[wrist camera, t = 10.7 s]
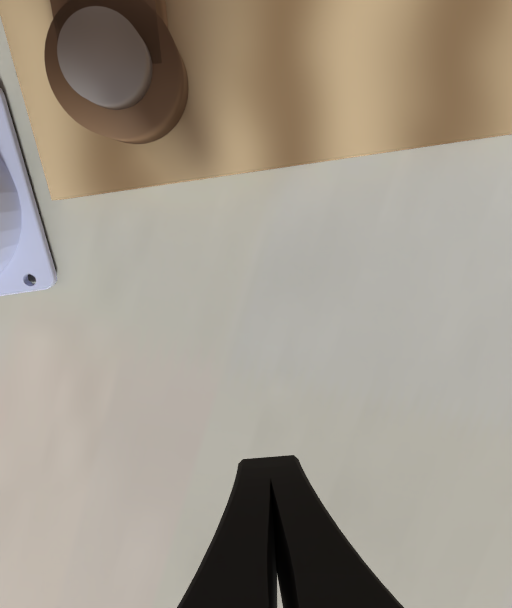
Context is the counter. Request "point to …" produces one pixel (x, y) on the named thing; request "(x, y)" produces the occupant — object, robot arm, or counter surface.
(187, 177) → the oak board
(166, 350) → the counter surface
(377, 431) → the counter surface
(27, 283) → the robot arm
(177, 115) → the link
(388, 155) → the counter surface
